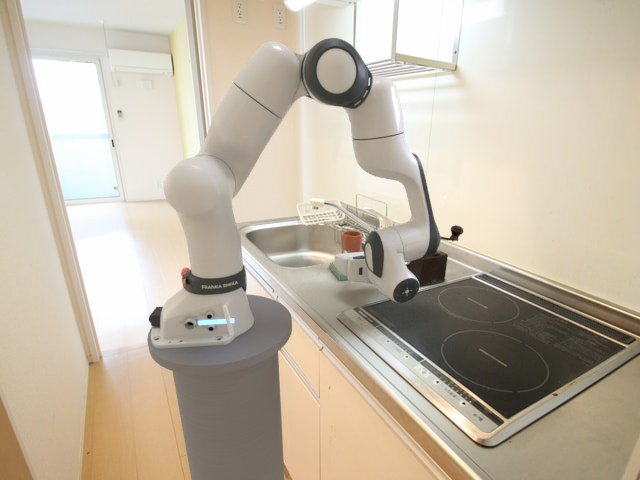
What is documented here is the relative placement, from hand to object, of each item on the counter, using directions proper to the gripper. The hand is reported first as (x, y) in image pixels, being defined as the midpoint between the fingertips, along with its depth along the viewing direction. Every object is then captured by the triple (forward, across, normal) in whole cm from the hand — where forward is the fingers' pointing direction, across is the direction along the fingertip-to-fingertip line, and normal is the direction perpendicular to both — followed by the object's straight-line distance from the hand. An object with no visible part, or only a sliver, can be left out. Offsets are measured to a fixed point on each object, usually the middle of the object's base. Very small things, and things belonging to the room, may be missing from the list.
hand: (360, 251), depth 110 cm
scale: (+8, 0, +10) cm, 13 cm away
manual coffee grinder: (-3, -24, +10) cm, 26 cm away
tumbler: (+8, 0, +8) cm, 11 cm away
